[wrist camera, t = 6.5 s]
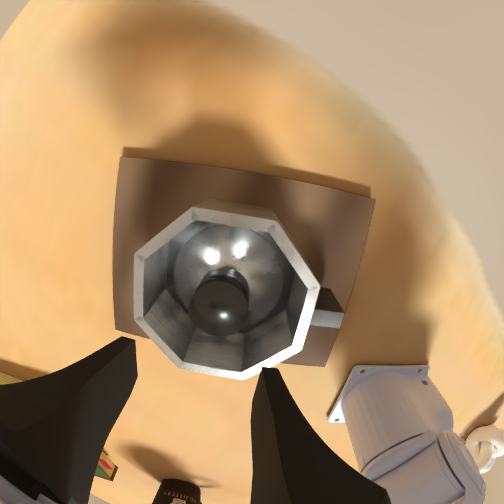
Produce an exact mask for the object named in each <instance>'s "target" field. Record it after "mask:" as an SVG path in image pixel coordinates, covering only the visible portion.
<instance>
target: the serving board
mask: <svg viewBox="0 0 504 504" xmlns="http://www.w3.org/2000/svg"><path fill="white" fill-rule="evenodd" d="M210 198H212V199H218V200H224V201H231V202H237V203H243V204H249V205H254V206H260V207H266V208H271V209H272V210H273V211H274V213H275V214H276V216H277V217H278V219H279V220H280V221H281V223H282V224H283V226H284V227H285V229H286V230H287V232H288V233H289V235H290V236H291V238H292V239H293V241H294V242H295V244H296V245H297V247H298V248H299V250H300V251H301V253H302V254H303V256H304V257H305V259H306V261H307V262H308V264H309V266H310V268H311V270H312V272H313V274H314V275H315V277H316V279H317V281H318V283H319V285H320V287H325V288H330V289H331V291H332V292H333V294H334V296H335V297H336V299H337V301H338V302H339V304H340V306H341V307H342V309H343V311H344V313H345V311H346V308H347V305H348V302H349V298H350V295H351V292H352V289H353V286H354V282H355V279H356V276H357V272H358V269H359V265H360V262H361V258H362V254H363V251H364V247H365V243H366V239H367V235H368V231H369V227H370V222H371V218H372V214H373V209H374V204H375V200H376V199H372V198H368V197H365V196H361V195H357V194H353V193H349V192H345V191H341V190H337V189H332V188H328V187H324V186H319V185H315V184H310V183H306V182H301V181H296V180H291V179H286V178H281V177H276V176H270V175H265V174H259V173H253V172H247V171H241V170H235V169H228V168H221V167H214V166H207V165H199V164H191V163H183V162H174V161H164V160H153V159H142V158H128V157H120V163H119V171H118V179H117V188H116V199H115V212H114V229H113V301H114V318H115V329H116V330H119V331H122V332H126V333H129V334H133V335H137V336H140V337H144V338H148V339H150V337H149V336H148V335H147V334H146V333H145V332H144V331H143V330H142V328H141V327H140V326H139V325H138V324H137V323H136V322H135V319H134V254H135V253H136V252H137V251H138V250H139V249H140V248H142V247H143V246H144V245H145V244H146V243H148V242H149V241H150V240H151V239H152V238H154V237H155V236H156V235H157V234H159V233H160V232H161V231H162V230H163V229H165V228H166V227H167V226H168V225H170V224H171V223H172V222H173V221H175V220H176V219H177V218H179V217H180V216H181V215H182V214H184V213H185V212H186V211H187V210H189V209H190V208H191V207H193V206H195V205H197V204H199V203H201V202H203V201H205V200H207V199H210ZM338 331H339V328H333V327H324V326H315V325H309V327H308V330H307V334H306V337H305V340H304V343H303V346H302V349H301V351H299V352H297V353H295V354H294V355H292V356H290V357H288V358H286V359H284V360H282V361H281V362H279V363H286V364H295V365H306V366H318V367H325V365H326V362H327V360H328V357H329V355H330V352H331V350H332V347H333V344H334V342H335V339H336V336H337V334H338Z"/></svg>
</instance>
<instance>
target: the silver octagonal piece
mask: <svg viewBox="0 0 504 504" xmlns="http://www.w3.org/2000/svg"><path fill="white" fill-rule="evenodd" d="M218 224H223V225H229V226H235V227H241V228H247V229H252V230H254V231H256V232H257V233H259V234H260V235H262V236H263V237H264V238H265V239H266V240H267V241H268V242H269V243H270V244H271V245H272V246H273V248H274V249H275V251H276V253H277V255H278V257H279V259H280V263H281V267H282V272H283V286H282V291H281V294H280V297H279V299H278V301H277V303H276V305H275V306H274V308H273V309H272V310H271V311H270V312H269V313H268V314H267V315H266V316H265V317H264V318H262V319H261V320H259V321H257V322H255V323H253V324H251V325H248V326H244V327H243V328H242V329H241V330H239V331H238V332H237V333H235V334H232V335H230V336H224V337H218V336H213V335H209V334H207V333H205V332H203V331H202V330H200V329H199V328H198V327H197V326H196V325H195V323H194V322H193V320H192V318H191V316H190V311H189V310H188V309H187V308H186V307H185V306H184V304H183V303H182V301H181V300H180V298H179V296H178V294H177V291H176V288H175V284H174V266H175V262H176V258H177V256H178V254H179V252H180V250H181V248H182V247H183V246H184V244H185V243H186V242H187V241H188V240H189V239H190V238H191V237H192V236H193V235H195V234H196V233H198V232H199V231H201V230H203V229H205V228H207V227H210V226H213V225H218ZM344 314H345V313H344V311H343V309H342V307H341V306H340V304H339V302H338V301H337V299H336V297H335V296H334V294H333V292H332V291H331V289H330V288H325V287H320V285H319V283H318V281H317V279H316V277H315V275H314V274H313V272H312V270H311V268H310V266H309V264H308V262H307V261H306V259H305V257H304V256H303V254H302V253H301V251H300V250H299V248H298V247H297V245H296V244H295V242H294V241H293V239H292V238H291V236H290V235H289V233H288V232H287V230H286V229H285V227H284V226H283V224H282V223H281V221H280V220H279V219H278V217H277V216H276V214H275V213H274V211H273V210H272V209H271V208H266V207H260V206H254V205H249V204H243V203H237V202H231V201H224V200H218V199H212V198H210V199H207V200H205V201H203V202H201V203H199V204H197V205H195V206H193V207H191V208H190V209H189V210H187V211H186V212H185V213H184V214H182V215H181V216H180V217H179V218H177V219H176V220H175V221H173V222H172V223H171V224H170V225H168V226H167V227H166V228H165V229H163V230H162V231H161V232H160V233H159V234H157V235H156V236H155V237H154V238H152V239H151V240H150V241H149V242H148V243H146V244H145V245H144V246H143V247H142V248H140V249H139V250H138V251H137V252H136V253H135V254H134V319H135V322H136V323H137V324H138V325H139V326H140V327H141V328H142V330H143V331H144V332H145V333H146V334H147V335H148V336H149V337H150V339H151V340H152V341H153V342H154V343H155V344H156V345H157V346H158V347H159V348H160V349H161V350H162V351H163V353H164V354H165V355H166V356H167V357H168V358H169V359H170V360H171V361H172V362H173V363H174V364H175V365H176V366H177V367H178V368H181V369H185V370H190V371H195V372H200V373H205V374H210V375H215V376H221V377H227V378H233V379H240V380H243V379H244V380H245V379H247V378H249V377H251V376H253V375H255V374H257V373H259V372H261V368H262V366H263V367H271V366H273V365H275V364H277V363H279V362H281V361H282V360H284V359H286V358H288V357H290V356H292V355H294V354H295V353H297V352H299V351H301V349H302V346H303V343H304V340H305V337H306V334H307V330H308V327H309V325H315V326H324V327H333V328H340V326H341V323H342V320H343V317H344Z"/></svg>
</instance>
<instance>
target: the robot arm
mask: <svg viewBox="0 0 504 504" xmlns="http://www.w3.org/2000/svg"><path fill="white" fill-rule="evenodd" d="M363 369H364V370H363ZM361 370H363V371H361ZM429 371H430V366H429V365H403V366H379V365H357V366H355V367H353V369H352V371H351V373H350V375H349V377H348V379H347V381H346V383H345V385H344V387H343V389H342V391H341V393H340V395H339V397H338V399H337V401H336V403H335V405H334V407H333V409H332V411H331V412H330V414H329V416H328V418H327V420H328V422H329V423H343V422H346V426H347V429H348V432H349V436H350V439H351V443H352V446H353V450H354V453H355V457H356V460H357V464H358V467H359V471H360V473H359V472H357V471H356V470H354V469H353V468H352V467H350V466H349V465H348V464H347V463H346V462H344V461H343V460H342V459H341V458H340V457H339V456H338V455H337V454H335V453H334V452H333V451H332V450H331V449H330V448H329V447H328V446H327V445H326V444H325V442H324V441H323V440H322V439H321V438H320V437H319V436H318V434H317V433H316V432H315V431H314V429H313V428H312V427H311V425H310V424H309V423H308V421H307V420H306V418H305V417H304V416H303V414H302V413H301V411H300V409H299V408H298V406H297V404H296V403H295V401H294V399H293V398H292V396H291V394H290V392H289V390H288V388H287V386H286V384H285V382H284V380H283V378H282V376H281V374H280V371H279V370H278V369H277V368H271V367H263V366H262V368H261V372H260V375H259V379H258V383H257V386H256V390H255V393H254V397H253V400H252V412H251V440H252V460H253V478H252V492H251V503H250V504H482V503H483V501H484V499H485V491H486V486H485V482H484V480H483V478H482V477H481V475H480V471H479V469H478V466H477V464H476V462H475V460H474V458H473V457H472V455H471V453H470V452H469V450H468V448H467V447H466V446H465V444H464V443H463V441H462V440H461V439H460V437H459V436H458V435H457V434H456V433H455V432H453V415H452V411H451V409H450V407H449V405H448V404H447V402H446V401H445V399H444V398H443V397H442V395H441V394H440V392H439V391H438V389H437V388H436V386H435V385H434V384H433V382H432V381H431V379H430V378H429V376H428V375H427V374H428V372H429ZM137 377H138V374H137V361H136V345H135V340H133V339H130V338H127V337H123V336H122V337H120V338H118V339H116V340H115V341H113V342H111V343H110V344H108V345H106V346H105V347H103V348H101V349H100V350H98V351H96V352H94V353H93V354H91V355H89V356H87V357H86V358H84V359H82V360H80V361H78V362H76V363H74V364H72V365H70V366H68V367H66V368H63V369H61V370H59V371H56V372H53V373H51V374H48V375H45V376H42V377H38V378H35V379H31V380H27V381H23V382H18V383H12V384H4V385H0V504H88V500H89V495H90V490H91V486H92V482H93V478H94V475H95V471H96V468H97V465H98V462H99V459H100V456H101V453H102V450H103V447H104V445H105V442H106V440H107V437H108V435H109V433H110V431H111V429H112V428H113V426H114V424H115V422H116V420H117V418H118V417H119V415H120V413H121V411H122V409H123V408H124V406H125V404H126V402H127V400H128V399H129V397H130V395H131V392H132V390H133V387H134V385H135V382H136V379H137Z"/></svg>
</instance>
